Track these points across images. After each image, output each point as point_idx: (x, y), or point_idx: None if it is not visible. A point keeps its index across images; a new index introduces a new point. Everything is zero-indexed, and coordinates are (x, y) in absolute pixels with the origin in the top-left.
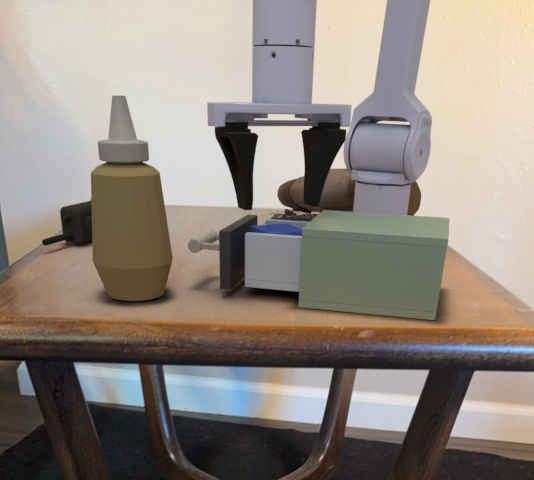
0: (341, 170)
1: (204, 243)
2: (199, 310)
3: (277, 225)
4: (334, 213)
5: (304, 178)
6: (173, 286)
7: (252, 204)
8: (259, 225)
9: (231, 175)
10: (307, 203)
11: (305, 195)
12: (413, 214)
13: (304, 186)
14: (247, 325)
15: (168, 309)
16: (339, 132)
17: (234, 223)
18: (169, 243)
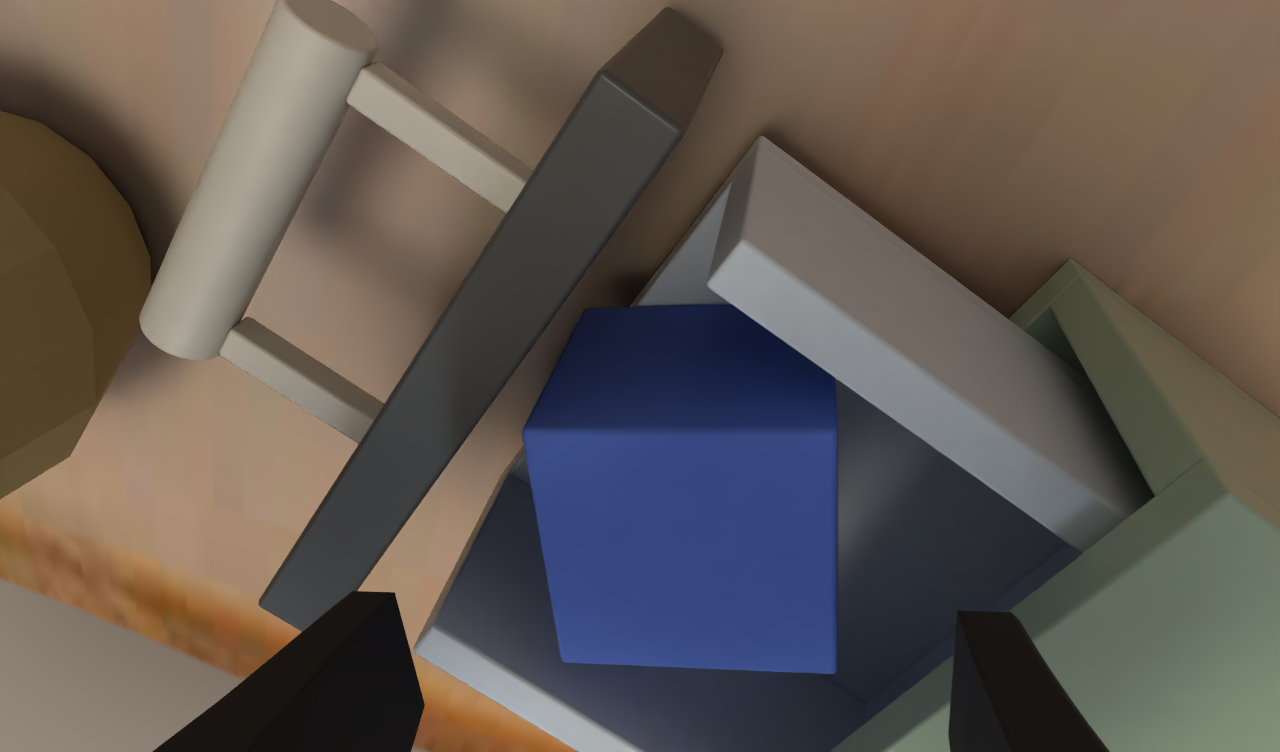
0: None
1: (237, 362)
2: (302, 516)
3: (722, 476)
4: (1186, 659)
5: (1012, 746)
6: (199, 131)
7: (412, 742)
8: (585, 444)
9: (172, 741)
10: (954, 666)
11: (964, 679)
12: None
13: (989, 702)
14: (446, 701)
15: (183, 467)
16: None
17: (389, 432)
18: (21, 450)
